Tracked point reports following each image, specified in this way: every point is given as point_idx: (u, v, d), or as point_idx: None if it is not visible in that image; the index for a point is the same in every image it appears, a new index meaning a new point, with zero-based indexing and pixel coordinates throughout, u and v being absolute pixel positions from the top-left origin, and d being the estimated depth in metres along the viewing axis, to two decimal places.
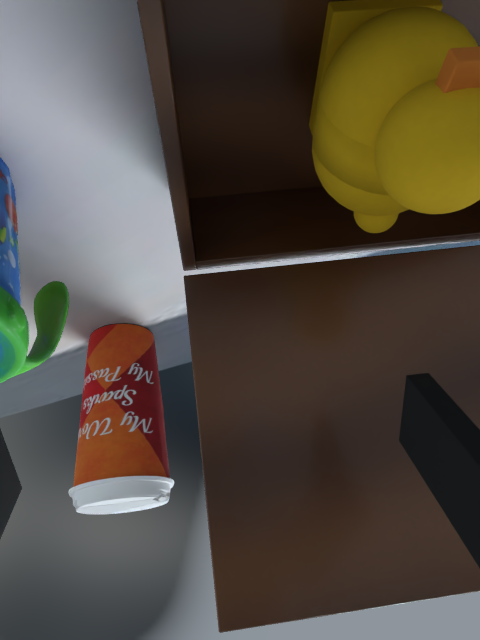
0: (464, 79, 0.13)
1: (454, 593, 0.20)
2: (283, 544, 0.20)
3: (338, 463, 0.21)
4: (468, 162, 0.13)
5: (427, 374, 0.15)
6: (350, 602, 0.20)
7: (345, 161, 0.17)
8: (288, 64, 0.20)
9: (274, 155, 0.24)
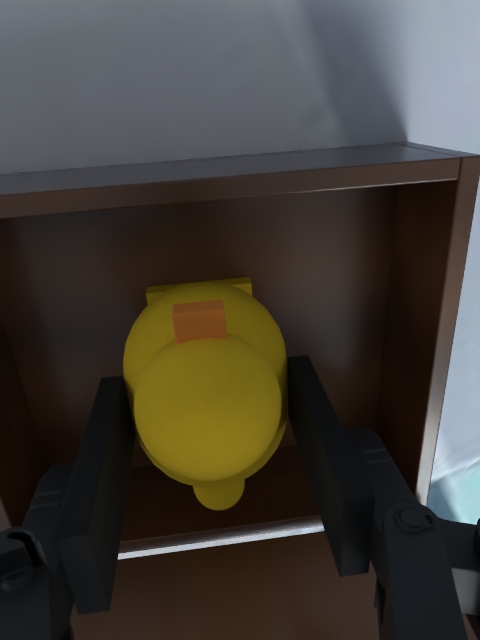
0: (189, 330, 0.12)
1: None
2: None
3: None
4: (197, 413, 0.11)
5: (307, 356, 0.16)
6: None
7: None
8: (125, 339, 0.20)
9: None
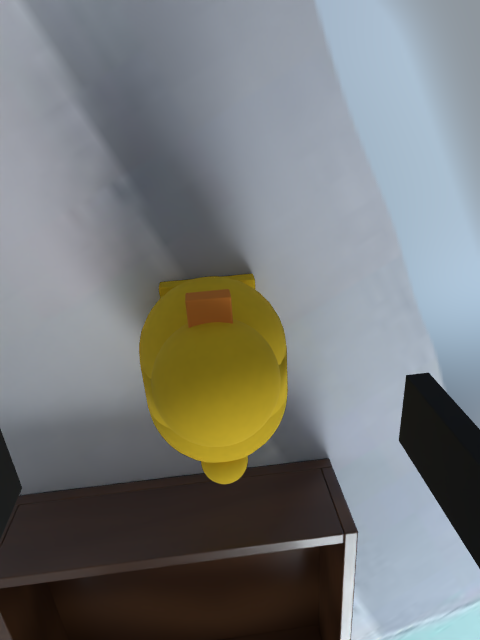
0: (200, 315, 0.14)
1: None
2: None
3: None
4: (208, 384, 0.13)
5: (427, 374, 0.15)
6: None
7: None
8: (131, 579, 0.29)
9: (139, 627, 0.31)
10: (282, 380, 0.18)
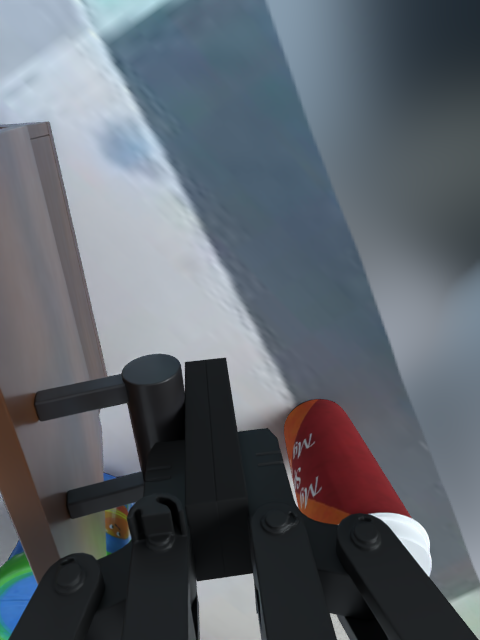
0: None
1: (2, 497, 0.11)
2: None
3: None
4: None
5: (225, 359, 0.17)
6: None
7: None
8: None
9: None
10: None
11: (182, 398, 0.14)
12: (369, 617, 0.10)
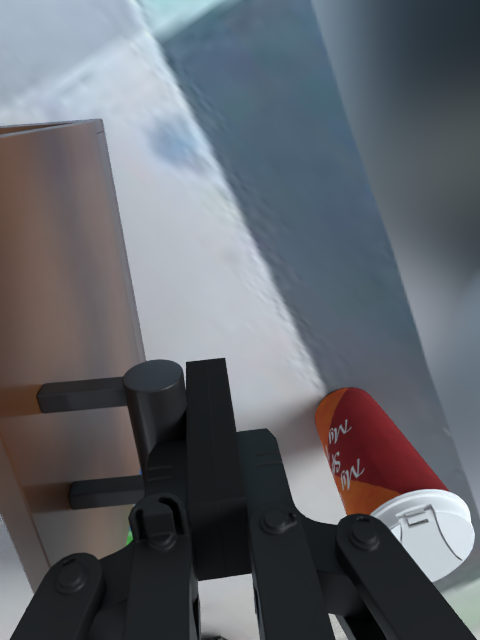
0: None
1: None
2: None
3: None
4: None
5: (224, 359, 0.17)
6: None
7: None
8: None
9: None
10: None
11: (181, 409, 0.14)
12: (368, 617, 0.10)
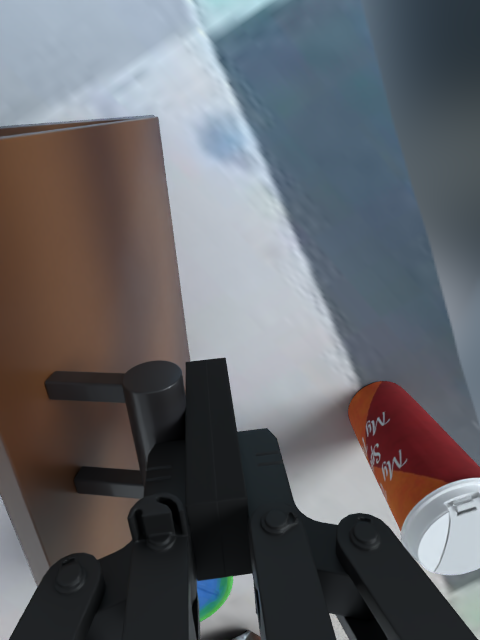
0: None
1: None
2: None
3: None
4: None
5: (225, 359, 0.17)
6: None
7: None
8: None
9: None
10: None
11: (175, 413, 0.13)
12: (369, 617, 0.10)
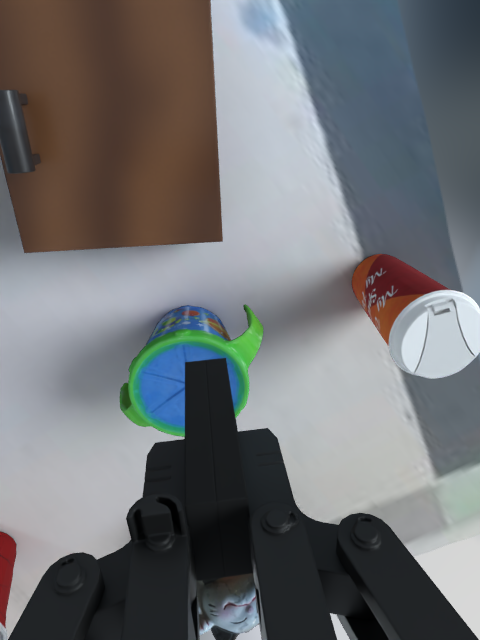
0: None
1: None
2: None
3: None
4: None
5: (225, 359, 0.17)
6: None
7: None
8: None
9: None
10: None
11: None
12: (369, 617, 0.10)
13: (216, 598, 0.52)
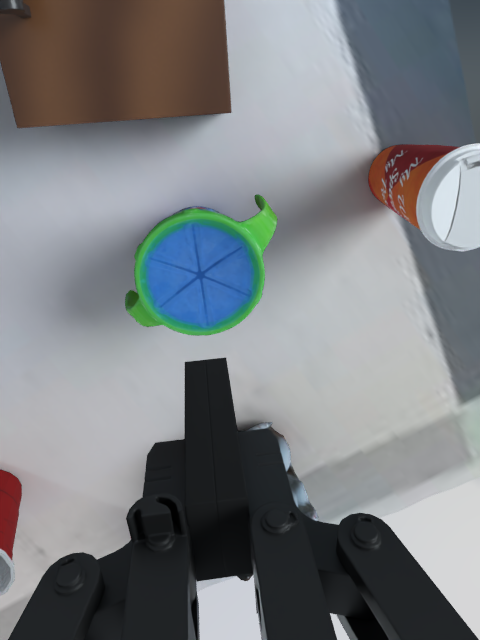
0: None
1: None
2: None
3: None
4: None
5: (225, 359, 0.17)
6: None
7: None
8: None
9: None
10: None
11: None
12: (369, 617, 0.10)
13: None
